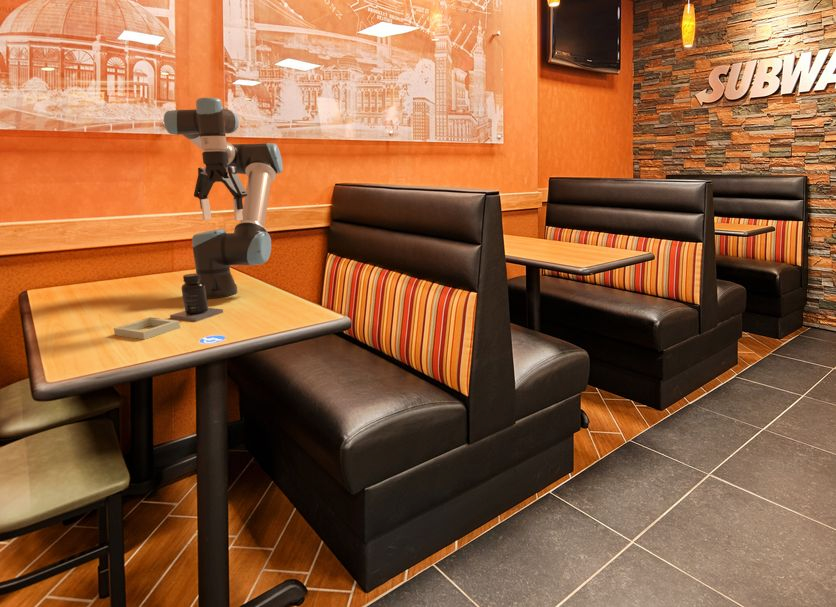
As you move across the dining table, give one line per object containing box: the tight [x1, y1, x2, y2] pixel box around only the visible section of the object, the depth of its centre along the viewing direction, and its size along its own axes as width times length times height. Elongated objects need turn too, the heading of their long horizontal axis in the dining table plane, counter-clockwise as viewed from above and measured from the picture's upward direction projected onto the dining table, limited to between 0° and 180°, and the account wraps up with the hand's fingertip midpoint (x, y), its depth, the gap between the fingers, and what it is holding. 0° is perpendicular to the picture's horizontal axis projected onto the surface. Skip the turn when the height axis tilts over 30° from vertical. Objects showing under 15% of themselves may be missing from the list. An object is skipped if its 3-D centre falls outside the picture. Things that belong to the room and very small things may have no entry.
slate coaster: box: [169, 307, 224, 322], centre depth 171 cm, size 11×11×1 cm
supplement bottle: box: [180, 272, 209, 315], centre depth 169 cm, size 7×7×12 cm
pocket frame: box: [113, 316, 181, 340], centre depth 155 cm, size 12×12×2 cm
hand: (222, 219), depth 174 cm, fingers open, 13 cm apart
